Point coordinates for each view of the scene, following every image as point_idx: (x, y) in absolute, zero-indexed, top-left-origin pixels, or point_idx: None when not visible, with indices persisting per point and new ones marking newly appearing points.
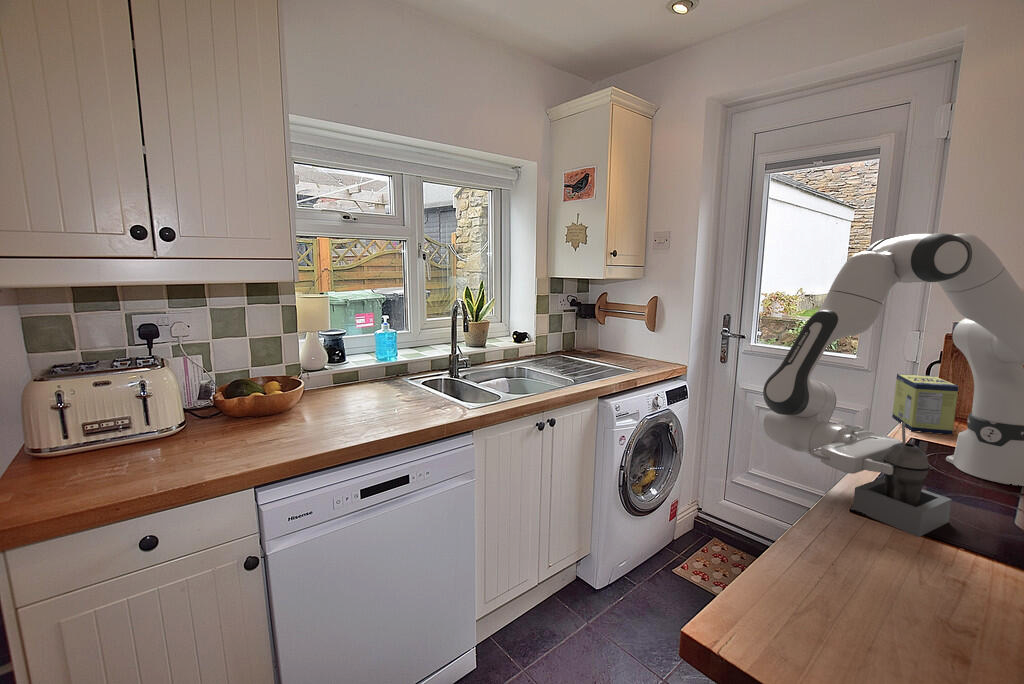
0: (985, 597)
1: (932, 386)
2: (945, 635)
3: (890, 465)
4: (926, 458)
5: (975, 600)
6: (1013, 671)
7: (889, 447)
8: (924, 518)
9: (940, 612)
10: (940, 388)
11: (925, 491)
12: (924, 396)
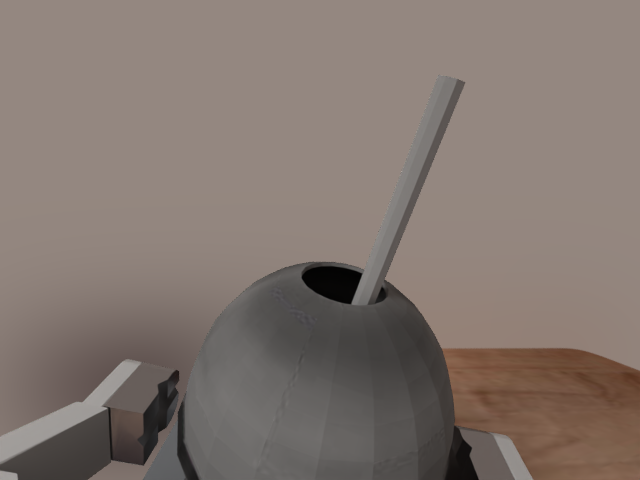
0: (480, 370)
1: None
2: (627, 393)
3: (491, 443)
4: (319, 287)
5: (505, 378)
6: (577, 349)
7: (375, 423)
8: None
9: (597, 404)
10: None
11: (169, 465)
12: None
